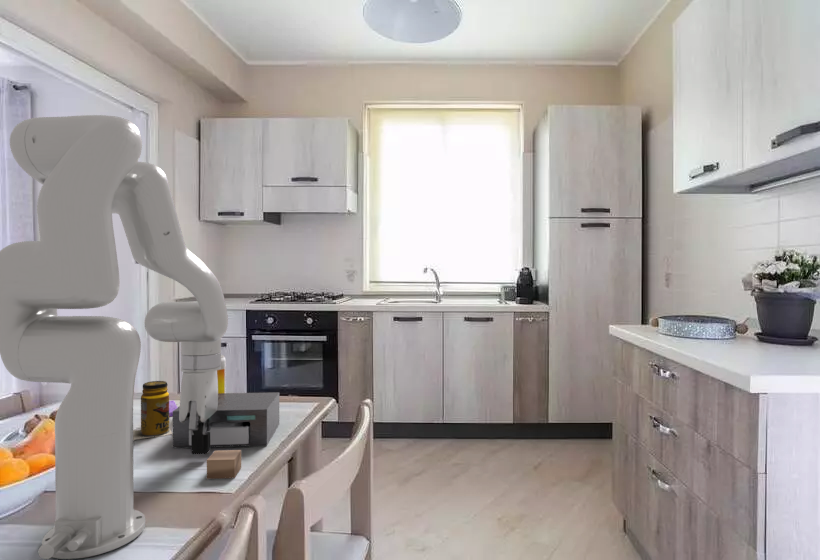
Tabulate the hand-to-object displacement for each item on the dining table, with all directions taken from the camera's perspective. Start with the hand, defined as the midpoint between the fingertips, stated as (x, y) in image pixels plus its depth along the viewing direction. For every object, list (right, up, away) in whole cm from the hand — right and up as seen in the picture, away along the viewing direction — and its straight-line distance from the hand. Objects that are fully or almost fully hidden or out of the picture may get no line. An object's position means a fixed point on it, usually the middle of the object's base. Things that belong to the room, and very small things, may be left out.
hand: (200, 452), depth 102 cm
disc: (0, +1, +14) cm, 14 cm away
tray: (0, -1, +15) cm, 15 cm away
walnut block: (+7, -2, -7) cm, 10 cm away
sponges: (-25, -2, +36) cm, 44 cm away
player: (0, -1, +16) cm, 16 cm away
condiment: (-19, -2, +17) cm, 26 cm away
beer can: (-12, -1, +37) cm, 39 cm away
